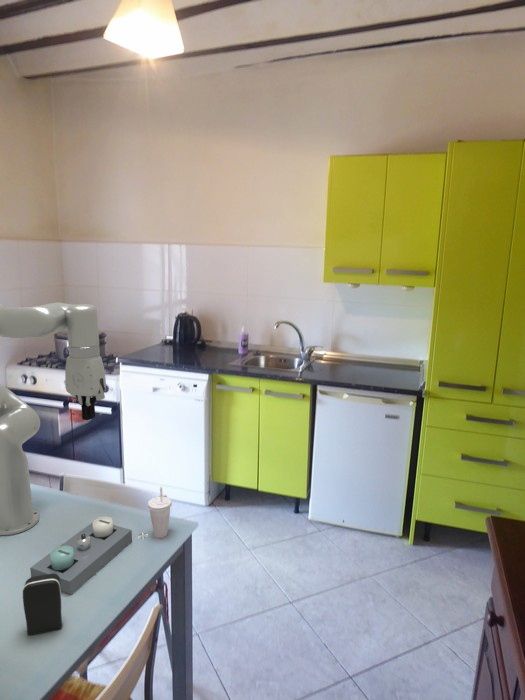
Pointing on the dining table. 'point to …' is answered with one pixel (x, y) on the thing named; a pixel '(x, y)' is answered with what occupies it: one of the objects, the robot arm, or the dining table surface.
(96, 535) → the knob
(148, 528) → the dining table surface
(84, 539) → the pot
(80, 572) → the mount
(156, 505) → the smoothie
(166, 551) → the dining table surface
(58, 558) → the knob
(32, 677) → the dining table surface
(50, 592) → the black rounded upright block
